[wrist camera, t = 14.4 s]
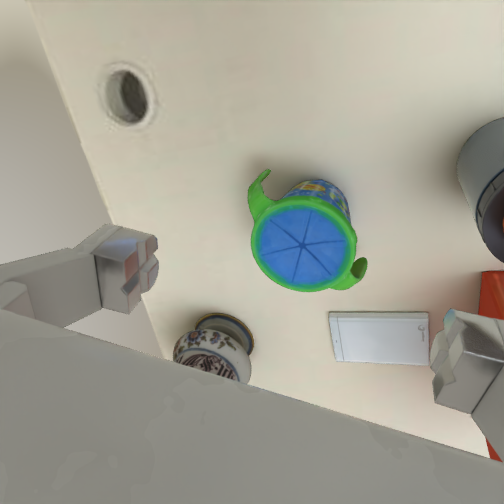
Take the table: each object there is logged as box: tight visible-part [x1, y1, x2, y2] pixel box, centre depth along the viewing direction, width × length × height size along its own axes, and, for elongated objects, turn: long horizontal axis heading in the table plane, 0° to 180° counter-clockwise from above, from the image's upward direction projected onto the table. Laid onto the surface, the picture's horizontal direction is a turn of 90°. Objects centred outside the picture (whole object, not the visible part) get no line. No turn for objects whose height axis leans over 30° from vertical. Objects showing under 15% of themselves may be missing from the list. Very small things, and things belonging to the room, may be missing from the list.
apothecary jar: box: [173, 313, 254, 384], centre depth 56 cm, size 12×12×18 cm
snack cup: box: [248, 169, 367, 292], centre depth 44 cm, size 16×10×10 cm
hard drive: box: [329, 313, 429, 366], centre depth 54 cm, size 2×8×12 cm
